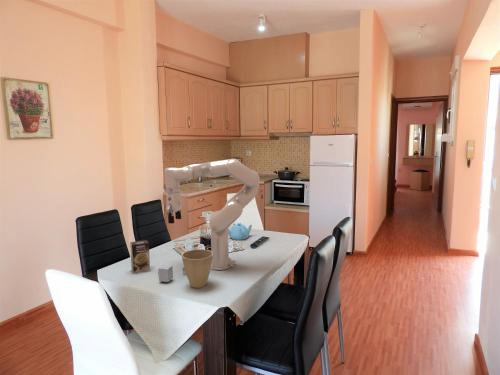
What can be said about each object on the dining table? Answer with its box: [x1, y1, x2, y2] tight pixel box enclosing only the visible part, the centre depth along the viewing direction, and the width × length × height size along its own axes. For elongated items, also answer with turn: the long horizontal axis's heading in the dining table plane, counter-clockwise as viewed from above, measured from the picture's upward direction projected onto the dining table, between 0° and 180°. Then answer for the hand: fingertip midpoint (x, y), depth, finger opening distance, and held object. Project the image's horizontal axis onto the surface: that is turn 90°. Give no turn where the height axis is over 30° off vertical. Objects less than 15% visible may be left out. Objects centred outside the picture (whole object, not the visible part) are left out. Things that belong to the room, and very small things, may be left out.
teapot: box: [228, 222, 253, 241], centre depth 260 cm, size 15×15×11 cm
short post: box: [182, 266, 187, 276], centre depth 193 cm, size 3×3×4 cm
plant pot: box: [181, 248, 213, 289], centre depth 177 cm, size 15×15×16 cm
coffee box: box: [129, 239, 151, 274], centre depth 199 cm, size 9×6×16 cm
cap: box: [157, 264, 174, 283], centre depth 183 cm, size 5×5×7 cm
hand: (175, 221), depth 199 cm, fingers open, 9 cm apart
